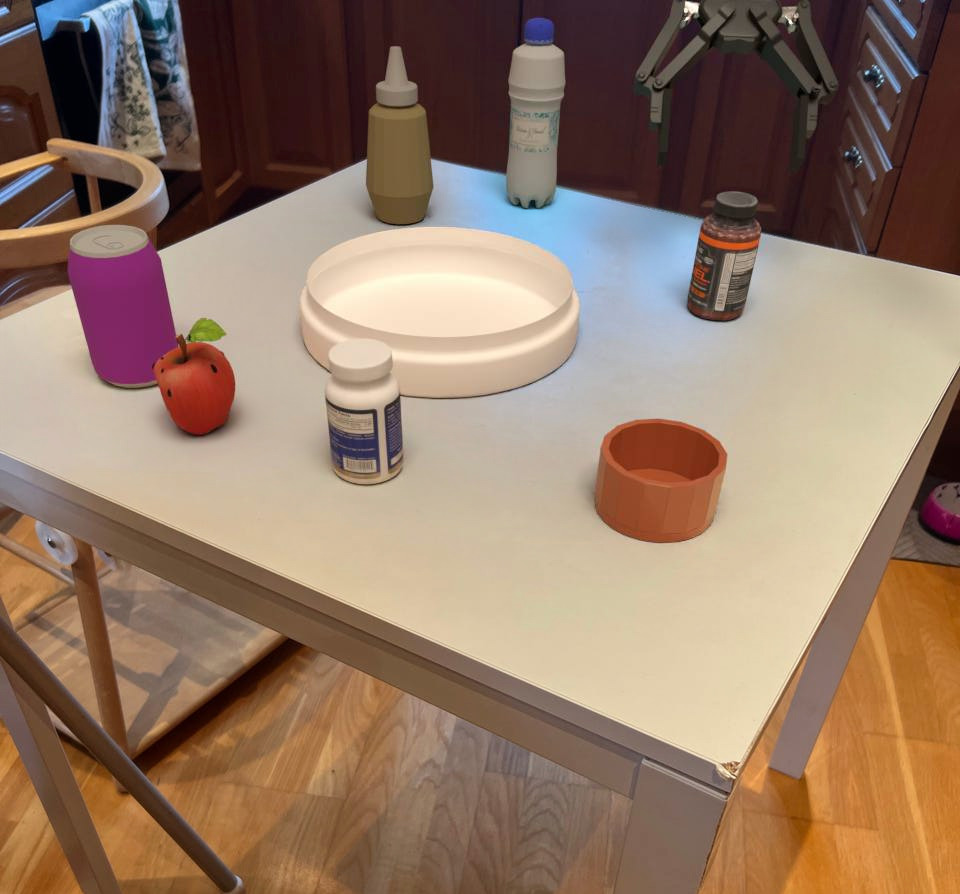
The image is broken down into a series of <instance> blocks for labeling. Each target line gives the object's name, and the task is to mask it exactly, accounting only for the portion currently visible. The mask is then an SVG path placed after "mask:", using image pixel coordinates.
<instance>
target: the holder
mask: <svg viewBox="0 0 960 894" xmlns="http://www.w3.org/2000/svg"><path fill="white" fill-rule="evenodd" d="M598 457H599V458H598V467H597V474H596V482H595V489H594V506H595V510H596V512H597V514H598V516H599V517H600V519H601V520H602V521H603V522H605V524H606V525H607V526H609V527H610V528H612V529H613V530H615V531H617V532H618V533H620V534H622V535H624V536H627V537H630V538H634V539H636V540H640V541H644V542H651V543H662V544H663V543H666V544H667V543H678V542H683V541H687V540H691V539H693V538H696V537H698V536H699V535H701V534H703V533H704V532H705V531H707V530H708V528H710V526H711V525H712V523H713V521H714V518H715V515H716V512H717V507H718V503H719V499H720V494H721V490H722V486H723V483H724V478H725V473H726V471H727V470H726V469H727V464H728V453H727V451H726V449H725V448H724V446H723V444H722V443H721V441H720V440H719V439H717V438H716V437H714V436H713V435H712V434H710V433H709V432H707V431H706V430H704V429H702V428H700V427H698V426H694V425H691V424H688V423H686V422H684V421H683V422H682V421H679V420H672V419H671V420H670V419H665V418H642V419H641V418H640V419H634V420H630V421H628V422H627V421H626V422H623V423H621V424H617V425H616V426H615V427H613V428H612V429H611V430H610V431H608V432H607V433H606V434H605V435H603V439H602V443H601V446H600V451H599V456H598Z"/></svg>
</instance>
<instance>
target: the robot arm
mask: <svg viewBox="0 0 960 894" xmlns="http://www.w3.org/2000/svg"><path fill="white" fill-rule="evenodd" d="M671 4H672V5H671V9H670V13H669V17H668V18H667V20H666V22H665V23H664V25H663V27H662V29H661V30H660V31H659V33H658V35H657V37H656V39H655V40H654V42H653V43H652V45H651V47H650V48H649V50H648V52H647V54H646V56H645V57H644V59H643V61H642V62H641V64H640V66H639V67H638V69H637V70H636V73H635V77H634V80H633V85H632V92H633V94H634V95H636V96H641V95H643V96H645V97H647V98H648V104H649V108H648V124H647V125H648V128H649V130H650V131H657V132H658V133H657V148H656V163H655V166H656V167H662V168H663V167H664V166H665V163H666V159H667V156H668V152H669V137H670V124H671V122H670V121H671V107H672V95H673V93H672V91H673V88H674V87H675V86H676V85H677V84H678V83H679V82H680V80H682V78H683V77H685V75H687V73H688V72H689V71H691V70H692V68H693V67H694V66H695V65H697V63H698V62H699V61H700V60H702V59H704V58H705V57H706V56H707V55H708V54H709V53H710V52H711V51H712V50H713V49H716V50H717V51H719V52H718V53H719V54H731V53H738V54H741V55H751V53H752V52H755V53H756V55H757V56H758V57H759V59H760V60H761V61H762V62H766V63H767V65H769V67H770V68H771V69H772V71H773V72H774V73H775V74H776V76H777V78H778V79H779V80H780V81H781V82H782V84H783V85H784V86H785V87H786V89H787V90H788V92H789V93H790V95H792V96H793V98H794V99H795V100H796V102H797V103H796V105H795V107H794V108H793V111H792V126H791V142H790V159H789V174H796V175H797V174H798V172H799V171H800V169H801V167H802V165H803V164H804V162H805V160H806V145H807V139H811V138H812V136H813V134H814V132H815V130H816V128H817V126H818V114H819V113H818V110H819V105H823V106H826V105H829V104H830V103H831V101H832V99H833V98H834V97H835V94H836V93H837V90H838V88H839V86H840V84H839V80H838V79H837V76H836V74H835V71H834V69H833V67H832V65H831V62H830V60H829V58H828V55H827V53H826V51H825V48H824V47H823V45H822V42H821V39H820V38H819V36H818V33H817V31H816V28H815V26H814V23H813V22H812V11H811V3H810V1H809V0H799V2H798V4H797V5H794V6H782V4H781V2H780V0H700V1H699V2H694V1H688V0H672V3H671ZM694 19H696V23H697V25H698V26H699V27H700V29H699V31H698V33H697V34H696V36H695V37H694V38H693V39H692V40H691V41H690V42H688V44H687V45H686V46H685V47H683V49H682V50H681V51H680V52H679V53H678V54H677V55H676V56H675V57H674V58H673V59H672V60H671V61H670V62H669V63H668V64H667V65H666V66H665V67H664V68H663V69H662V70H661V71H660V73H658V74H657V76H655V74H656V73H657V71H658V69H659V68H660V65H661V64H662V62H663V61H664V59H665V57H666V55H667V54H668V53H669V51H670V49H671V47H672V46H673V44H674V42H675V40H676V39H677V37H678V34H679V31H680V29H684V28H685V27H687V26H688V24H689V23H690V21H691V20H694ZM779 23H780V24H783V25H785V28H786V32H787V34H790V35H791V38H792V41H793V44H794V47H795V49H796V51H797V54H798V56H799V58H800V60H801V61H800V60H799V59H798V58H797V56H796V54H795V53H793V51H792V50H791V49H790V47H789V45H787V44H786V42H785V41H784V40H783V36H782V32H781V31H780V29H779V28H778V25H779ZM654 76H655V77H654Z"/></svg>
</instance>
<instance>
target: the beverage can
mask: <svg viewBox="0 0 960 894" xmlns="http://www.w3.org/2000/svg"><path fill="white" fill-rule="evenodd" d="M67 261H68V262H67V276H68V279H69V283H70V286H71V290H72V294H73V297H74V302H75V305H76V308H77V312H78V317H79V320H80V323H81V327H82V331H83V334H84V339H85V342H86V346H87V349H88V353H89V356H90V360H91V364H92V366H93V370H94V372H95V374H97V376H98V377H99V378H100V379H102V380H105V381H106V382H108V383H109V384H111V385H113V386H115V387H120V388H125V389H140V388H141V389H142V388H148V387H151V386H156V385H158V384H157V381H156V378H155V374H154V370H153V369H152V365H153V364H154V363H156V362H157V361H158V360H159V359H160V358H161V357H162V356H163V355H165V354H166V353H168V352H170V351H171V350H173V349H175V348H177V347H179V344H178V343H177V341H176V339H175V337H177V332H176V327H175V322H174V317H173V312H172V307H171V302H170V298H169V292H168V288H167V283H166V278H165V273H164V268H163V263H162V258H161V257H160V255H159V253H158V251H157V250H156V248H155V246H154V245H153V243H152V242H151V240H150V238H149V236H148V234H147V232H146V231H144V229H141V228H139V227H136V226H132V225H126V224H107V225H99V226H94V227H89V228H86V229H83V230H81V231H79V232H77V233H75V234H73V236H72V237H71V238H70V239H69V251H68V260H67Z"/></svg>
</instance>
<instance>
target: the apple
mask: <svg viewBox="0 0 960 894" xmlns="http://www.w3.org/2000/svg"><path fill="white" fill-rule="evenodd" d="M225 336H227V332H226V331H225V330H224V329H223V328H222V327H221V326H220V324H219V323H217V322H216V321H215V320H213V319H211V318H207V317H202V318H199V319H198V320H196V321H195V323H194V324H193V325H192V327H191V329H190V331H189V333H188V334H187V336H186V337H184V335H183V334H182V333H180V334H177V335H176V337H175V339H176V341H177V343H178V346H179V347H177V348H175V349H173V350H171V351H170V352H168V353H166V354H165V355H163V356H162V357H161V358H160V359H159V360H158V361H157V362H156V363H154V364H153V365H152V369H153V370H154V374H155V378H156V381H157V384H156V385H157V386H158V389H159V391H160V395H161V398H162V400H163V404H164V405H165V408H166V409H167V412H168V414H169V415H170V417H171V419H172V421H174V423H175V424H176V425H177V426H178V427H179V428H181V429H182V430H184V431H186V432H187V433H189V434H191V435H197V436H198V435H199V436H201V435H206V434H208V433H210V432H211V431H213V430H215V429H217V428H219V427H221V426H223V425H224V424H225V423H226V422H227V420H228V418H229V416H230V412H231V409H232V407H233V403H234V400H235V395H236V377H235V373H234V370H233V367H232V365H231V363H230V361H229V360H228V358H227V357H226V355H225V353H224V352H223V351H222V350H219V348H218V347H216V346H214V345H212V344H210V343H207V342H216V341H219V340H221V339H222V338H223V337H225ZM187 342H188V343H187Z"/></svg>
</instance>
